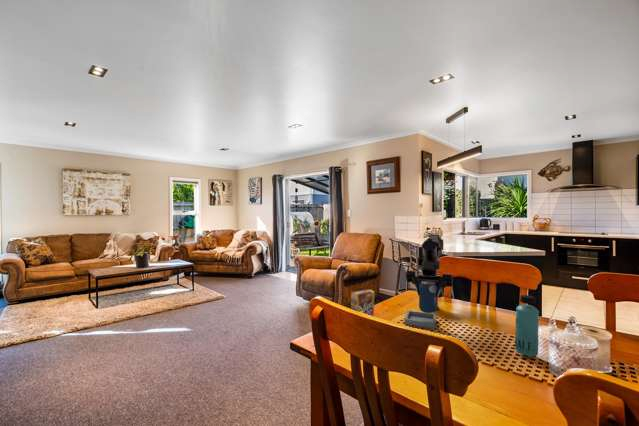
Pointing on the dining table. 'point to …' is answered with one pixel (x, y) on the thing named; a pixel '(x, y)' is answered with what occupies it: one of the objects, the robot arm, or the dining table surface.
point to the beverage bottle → (527, 327)
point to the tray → (420, 319)
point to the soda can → (427, 296)
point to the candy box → (363, 301)
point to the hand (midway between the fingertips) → (427, 295)
